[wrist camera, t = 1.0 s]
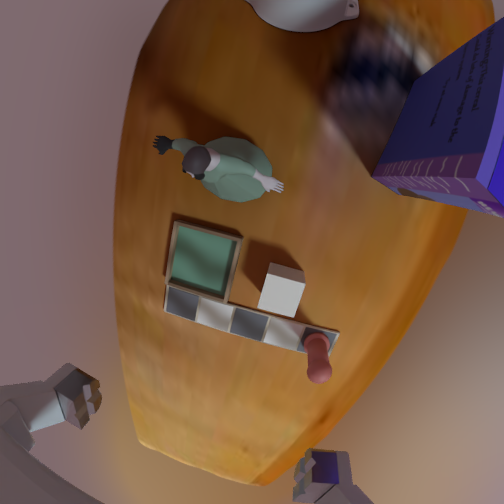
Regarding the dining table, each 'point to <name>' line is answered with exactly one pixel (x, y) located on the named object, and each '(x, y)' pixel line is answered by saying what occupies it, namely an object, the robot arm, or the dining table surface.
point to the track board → (242, 320)
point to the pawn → (318, 357)
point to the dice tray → (202, 260)
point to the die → (282, 290)
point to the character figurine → (225, 166)
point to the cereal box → (453, 130)
